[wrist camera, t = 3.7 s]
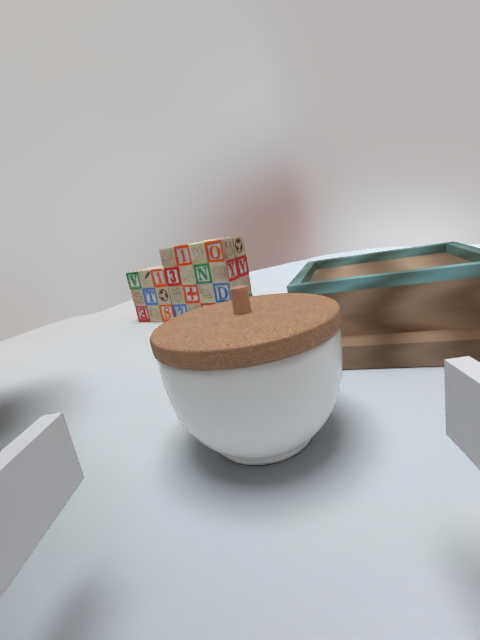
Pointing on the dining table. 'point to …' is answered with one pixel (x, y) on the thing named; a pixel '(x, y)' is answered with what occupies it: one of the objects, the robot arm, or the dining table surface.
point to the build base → (402, 304)
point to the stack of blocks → (189, 278)
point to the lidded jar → (253, 372)
